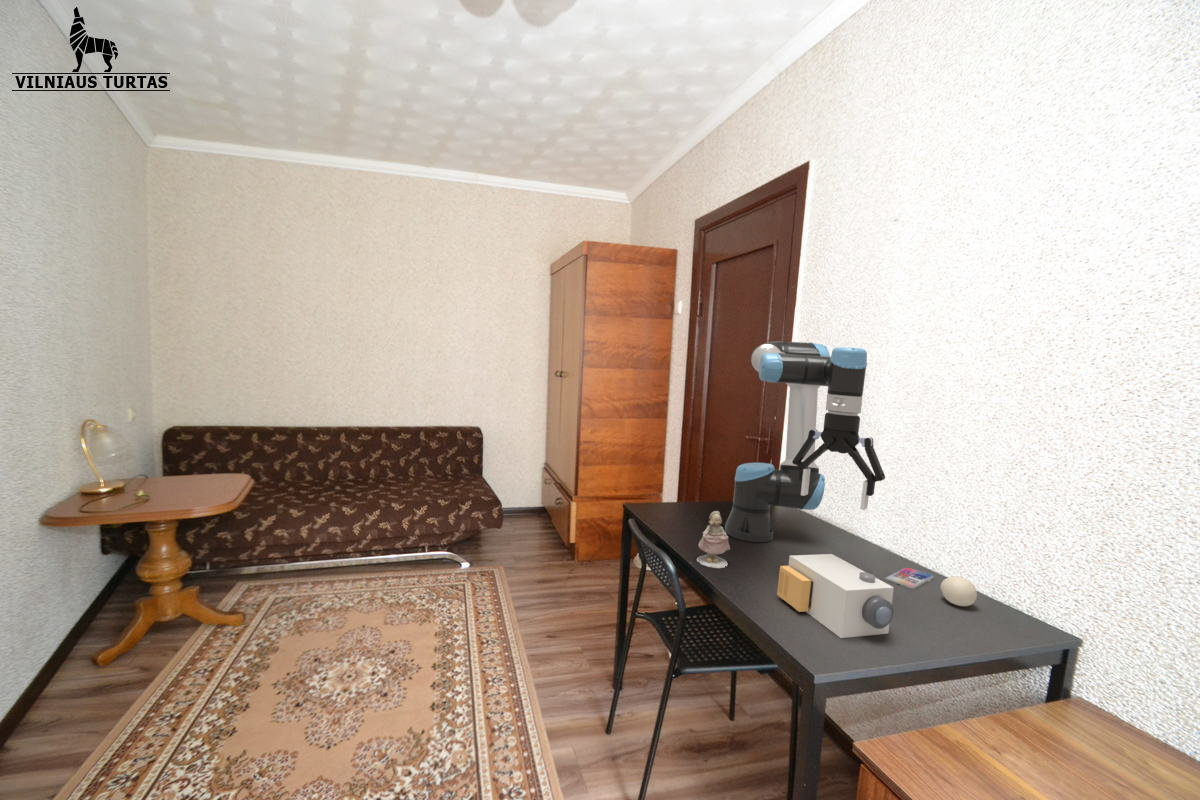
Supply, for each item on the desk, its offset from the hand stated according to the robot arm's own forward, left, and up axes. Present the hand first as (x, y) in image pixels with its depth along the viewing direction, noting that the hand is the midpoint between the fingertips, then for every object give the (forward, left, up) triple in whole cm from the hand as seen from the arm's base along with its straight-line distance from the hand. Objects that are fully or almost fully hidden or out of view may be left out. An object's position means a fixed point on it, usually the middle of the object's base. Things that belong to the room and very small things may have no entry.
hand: (832, 501), depth 118 cm
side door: (+4, -12, -23) cm, 26 cm away
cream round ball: (+9, +32, -23) cm, 40 cm away
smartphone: (-5, +33, -24) cm, 41 cm away
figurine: (-21, -19, -23) cm, 37 cm away
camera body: (+10, -4, -23) cm, 25 cm away
